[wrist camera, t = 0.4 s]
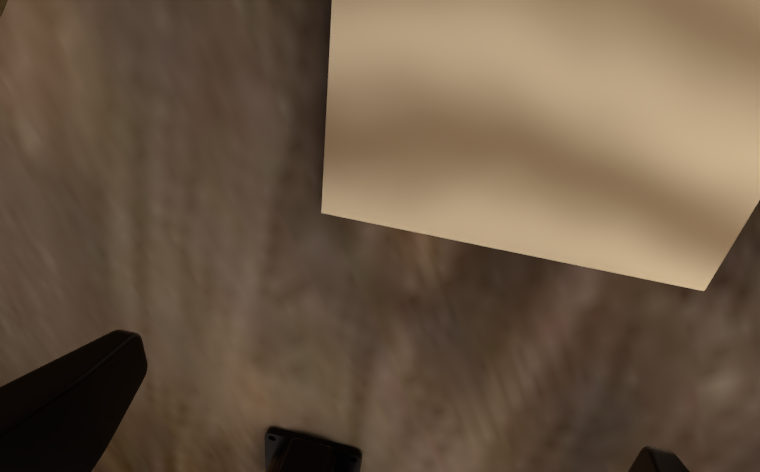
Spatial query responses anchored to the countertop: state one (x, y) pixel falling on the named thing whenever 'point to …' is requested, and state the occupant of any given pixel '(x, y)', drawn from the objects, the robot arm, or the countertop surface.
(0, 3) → the olive pepper mill
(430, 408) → the countertop surface
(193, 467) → the countertop surface
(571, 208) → the birch board
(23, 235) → the countertop surface
